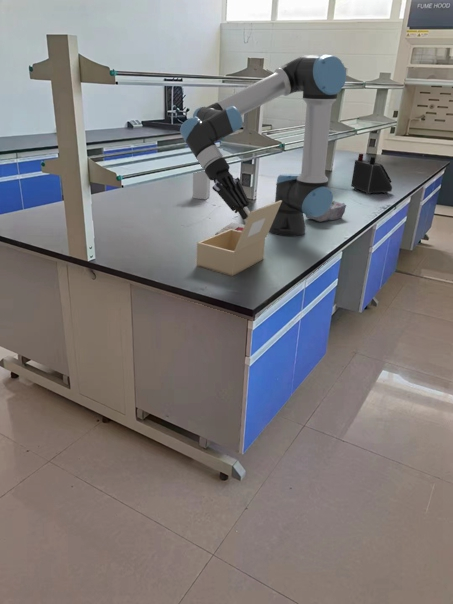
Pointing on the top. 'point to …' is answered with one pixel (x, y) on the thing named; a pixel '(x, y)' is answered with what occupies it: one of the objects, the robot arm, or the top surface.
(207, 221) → the top surface
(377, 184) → the voltmeter
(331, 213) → the grey rock
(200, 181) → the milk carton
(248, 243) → the lid
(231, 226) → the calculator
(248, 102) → the robot arm
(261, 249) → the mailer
